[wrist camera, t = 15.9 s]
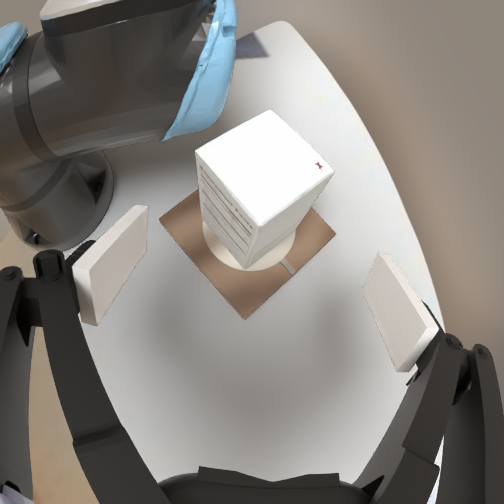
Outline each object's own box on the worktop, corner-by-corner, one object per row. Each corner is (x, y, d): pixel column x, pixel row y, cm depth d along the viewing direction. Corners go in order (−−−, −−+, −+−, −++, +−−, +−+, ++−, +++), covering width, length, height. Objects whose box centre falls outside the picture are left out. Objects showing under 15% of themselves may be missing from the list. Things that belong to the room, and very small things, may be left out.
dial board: (160, 222, 32) (158, 217, 30) (252, 155, 36) (253, 149, 34) (244, 319, 30) (245, 319, 29) (333, 236, 34) (337, 232, 32)
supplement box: (252, 182, 33) (272, 105, 21) (296, 231, 32) (339, 171, 20) (199, 218, 31) (191, 147, 19) (242, 272, 30) (261, 228, 18)
